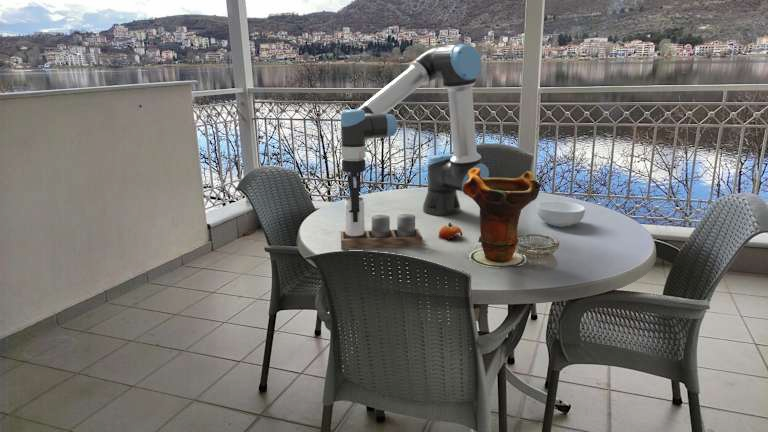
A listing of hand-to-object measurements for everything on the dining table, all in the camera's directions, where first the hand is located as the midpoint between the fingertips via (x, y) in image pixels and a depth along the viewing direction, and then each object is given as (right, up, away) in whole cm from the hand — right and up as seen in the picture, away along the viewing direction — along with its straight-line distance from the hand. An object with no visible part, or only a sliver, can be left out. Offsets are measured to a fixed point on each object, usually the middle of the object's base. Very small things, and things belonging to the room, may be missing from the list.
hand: (354, 227), depth 175 cm
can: (0, -2, +1) cm, 2 cm away
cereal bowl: (+75, +1, +22) cm, 79 cm away
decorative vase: (+45, -9, -11) cm, 47 cm away
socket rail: (+9, -5, +2) cm, 10 cm away
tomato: (+33, -4, +8) cm, 34 cm away
